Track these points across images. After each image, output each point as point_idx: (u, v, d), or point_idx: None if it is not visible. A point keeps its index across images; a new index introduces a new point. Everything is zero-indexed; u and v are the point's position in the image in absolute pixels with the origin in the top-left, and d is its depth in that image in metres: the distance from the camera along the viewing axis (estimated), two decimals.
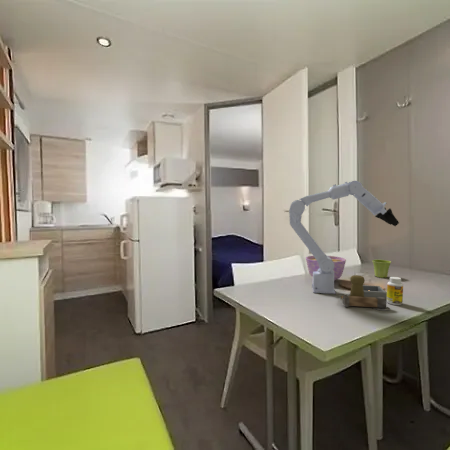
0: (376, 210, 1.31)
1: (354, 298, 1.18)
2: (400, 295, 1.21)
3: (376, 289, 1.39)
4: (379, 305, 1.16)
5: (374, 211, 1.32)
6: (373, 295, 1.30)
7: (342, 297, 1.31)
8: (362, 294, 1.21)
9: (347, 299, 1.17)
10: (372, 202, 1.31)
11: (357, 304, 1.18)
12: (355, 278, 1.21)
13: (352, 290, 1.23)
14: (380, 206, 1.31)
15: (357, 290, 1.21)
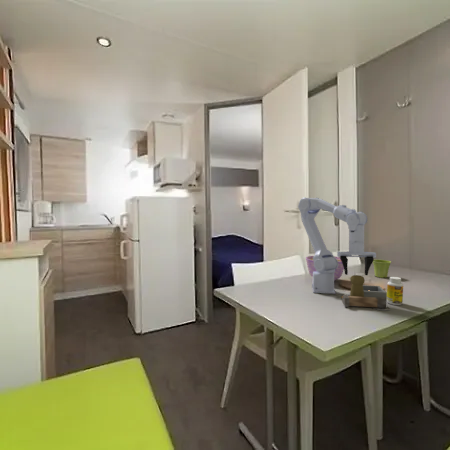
0: None
1: (354, 298, 1.18)
2: (400, 295, 1.21)
3: (376, 289, 1.39)
4: (379, 305, 1.16)
5: None
6: (373, 295, 1.30)
7: (342, 297, 1.31)
8: (362, 294, 1.21)
9: (347, 299, 1.17)
10: (349, 242, 1.27)
11: (357, 304, 1.18)
12: (355, 278, 1.21)
13: (352, 290, 1.23)
14: (350, 251, 1.26)
15: (357, 290, 1.21)
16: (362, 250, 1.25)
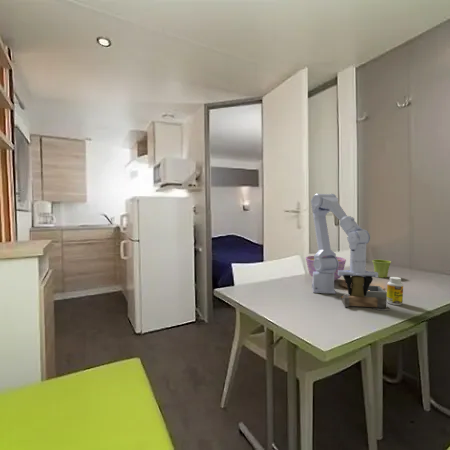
0: None
1: (354, 298, 1.18)
2: (400, 295, 1.21)
3: (376, 289, 1.39)
4: (379, 305, 1.16)
5: None
6: (373, 295, 1.30)
7: (342, 297, 1.31)
8: (362, 294, 1.21)
9: (347, 299, 1.17)
10: (350, 261, 1.23)
11: (357, 304, 1.18)
12: (355, 278, 1.21)
13: (352, 290, 1.23)
14: (351, 270, 1.22)
15: (357, 290, 1.21)
16: (364, 270, 1.21)
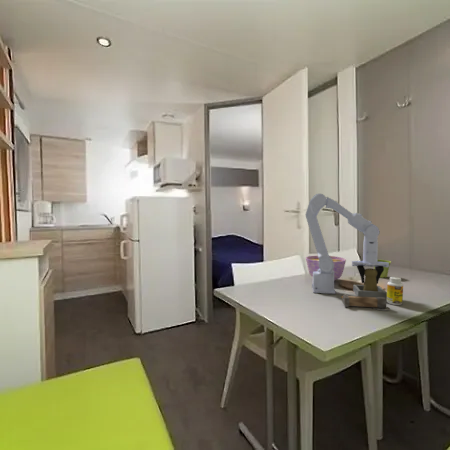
0: None
1: (354, 298, 1.18)
2: (400, 295, 1.21)
3: None
4: (379, 305, 1.16)
5: None
6: (373, 295, 1.30)
7: (342, 297, 1.31)
8: (375, 286, 1.32)
9: (347, 299, 1.17)
10: (363, 252, 1.35)
11: (357, 304, 1.18)
12: (368, 271, 1.32)
13: (365, 282, 1.33)
14: (364, 261, 1.34)
15: (370, 282, 1.32)
16: (376, 260, 1.32)
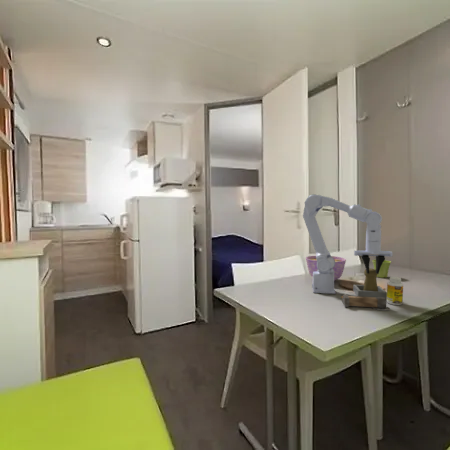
0: None
1: (354, 298, 1.18)
2: (400, 295, 1.21)
3: None
4: (379, 305, 1.16)
5: None
6: (373, 295, 1.30)
7: (342, 297, 1.31)
8: (375, 286, 1.32)
9: (347, 299, 1.17)
10: (366, 241, 1.30)
11: (357, 304, 1.18)
12: None
13: (365, 282, 1.33)
14: (367, 250, 1.29)
15: (370, 282, 1.32)
16: (379, 249, 1.27)
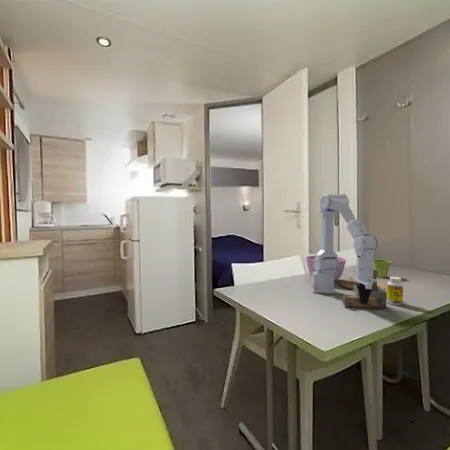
0: (362, 279, 1.14)
1: (354, 298, 1.18)
2: (400, 295, 1.21)
3: None
4: (379, 305, 1.16)
5: (360, 278, 1.14)
6: (373, 295, 1.30)
7: (342, 297, 1.31)
8: (375, 286, 1.32)
9: (347, 299, 1.17)
10: (367, 270, 1.13)
11: (357, 304, 1.18)
12: None
13: None
14: (369, 279, 1.13)
15: None
16: None
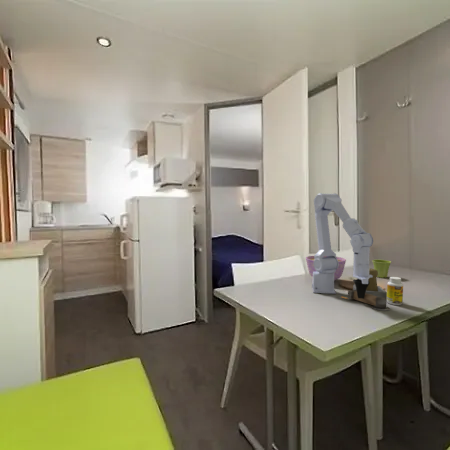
0: (359, 275, 1.20)
1: None
2: (400, 295, 1.21)
3: None
4: (376, 304, 1.17)
5: (357, 274, 1.21)
6: None
7: (342, 297, 1.31)
8: (375, 286, 1.32)
9: (349, 292, 1.27)
10: (363, 266, 1.19)
11: (360, 299, 1.24)
12: None
13: None
14: (365, 275, 1.19)
15: (370, 282, 1.32)
16: None
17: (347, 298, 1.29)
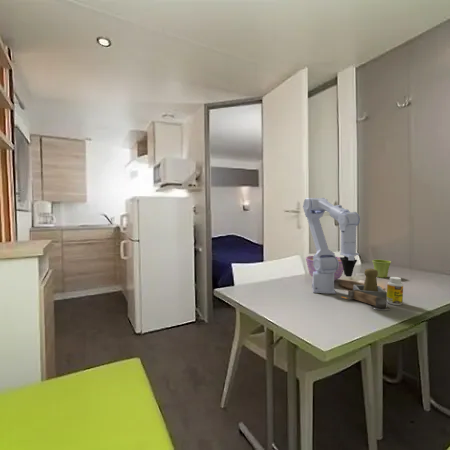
0: (346, 252, 1.23)
1: (358, 293, 1.25)
2: (400, 295, 1.21)
3: None
4: (376, 304, 1.17)
5: (344, 252, 1.24)
6: None
7: (342, 297, 1.31)
8: (375, 286, 1.32)
9: (350, 292, 1.27)
10: (350, 244, 1.22)
11: (360, 299, 1.25)
12: (368, 271, 1.32)
13: (366, 282, 1.33)
14: (352, 252, 1.22)
15: (370, 282, 1.32)
16: None
17: (347, 298, 1.29)
